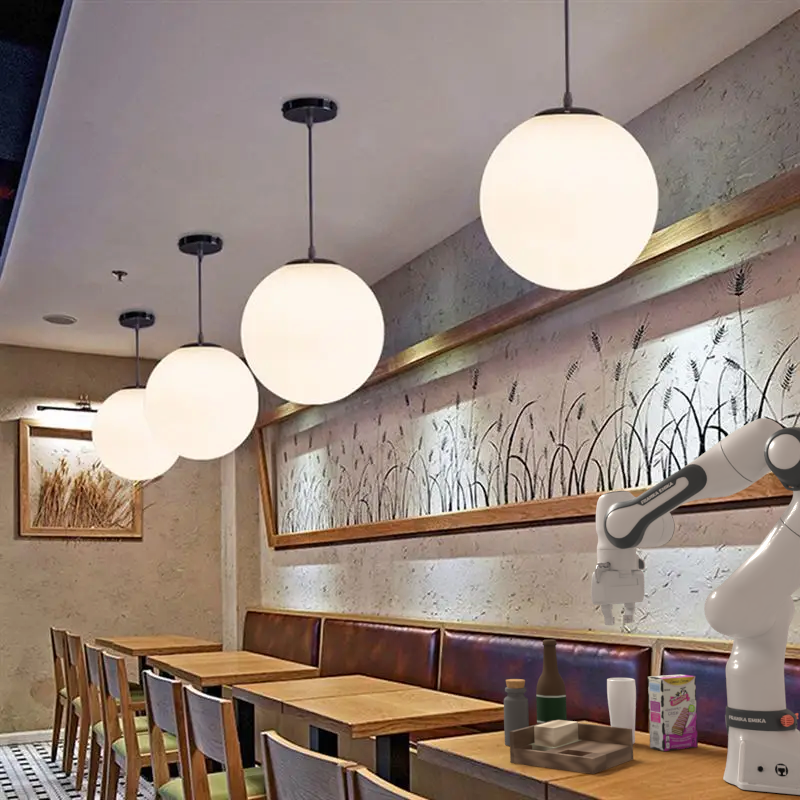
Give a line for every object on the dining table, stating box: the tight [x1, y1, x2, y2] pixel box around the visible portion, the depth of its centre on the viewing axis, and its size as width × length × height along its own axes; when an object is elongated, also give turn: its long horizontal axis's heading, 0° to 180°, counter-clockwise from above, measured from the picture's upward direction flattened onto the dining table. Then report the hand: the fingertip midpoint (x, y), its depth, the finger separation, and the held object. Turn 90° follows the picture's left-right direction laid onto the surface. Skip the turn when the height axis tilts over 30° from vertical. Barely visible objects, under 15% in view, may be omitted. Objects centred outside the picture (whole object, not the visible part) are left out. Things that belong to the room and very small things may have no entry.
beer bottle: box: [535, 639, 568, 724], centre depth 243 cm, size 8×8×24 cm
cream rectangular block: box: [534, 720, 579, 747], centre depth 222 cm, size 5×11×4 cm, turn 142°
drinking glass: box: [606, 677, 637, 745], centre depth 237 cm, size 7×7×15 cm
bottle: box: [503, 678, 530, 747], centre depth 237 cm, size 6×6×15 cm
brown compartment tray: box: [509, 720, 634, 775], centre depth 217 cm, size 20×19×6 cm
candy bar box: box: [647, 674, 699, 752], centre depth 231 cm, size 11×5×16 cm, turn 120°
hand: (619, 624), depth 223 cm, fingers open, 8 cm apart
